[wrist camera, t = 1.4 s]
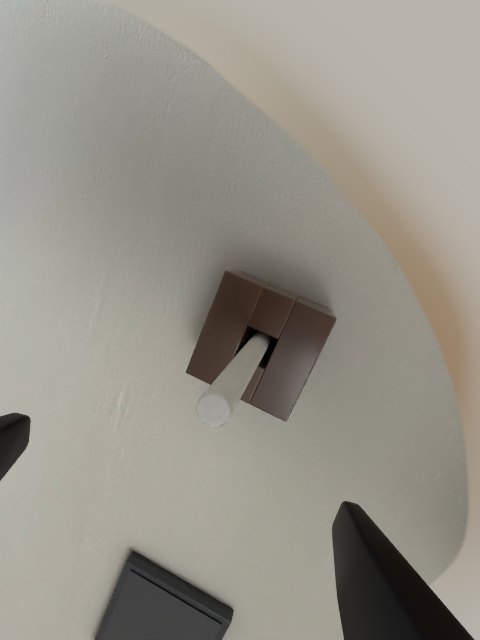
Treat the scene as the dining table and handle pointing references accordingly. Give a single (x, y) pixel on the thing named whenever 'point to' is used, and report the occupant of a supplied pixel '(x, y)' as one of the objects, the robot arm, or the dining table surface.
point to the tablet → (160, 607)
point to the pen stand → (272, 319)
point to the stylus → (232, 382)
